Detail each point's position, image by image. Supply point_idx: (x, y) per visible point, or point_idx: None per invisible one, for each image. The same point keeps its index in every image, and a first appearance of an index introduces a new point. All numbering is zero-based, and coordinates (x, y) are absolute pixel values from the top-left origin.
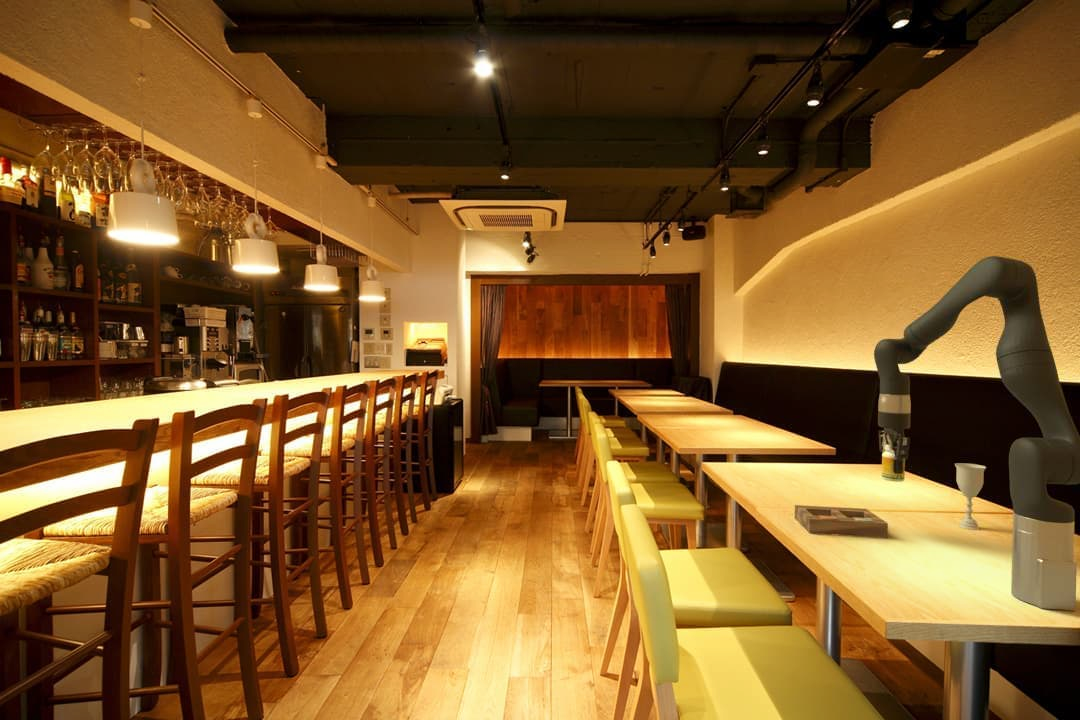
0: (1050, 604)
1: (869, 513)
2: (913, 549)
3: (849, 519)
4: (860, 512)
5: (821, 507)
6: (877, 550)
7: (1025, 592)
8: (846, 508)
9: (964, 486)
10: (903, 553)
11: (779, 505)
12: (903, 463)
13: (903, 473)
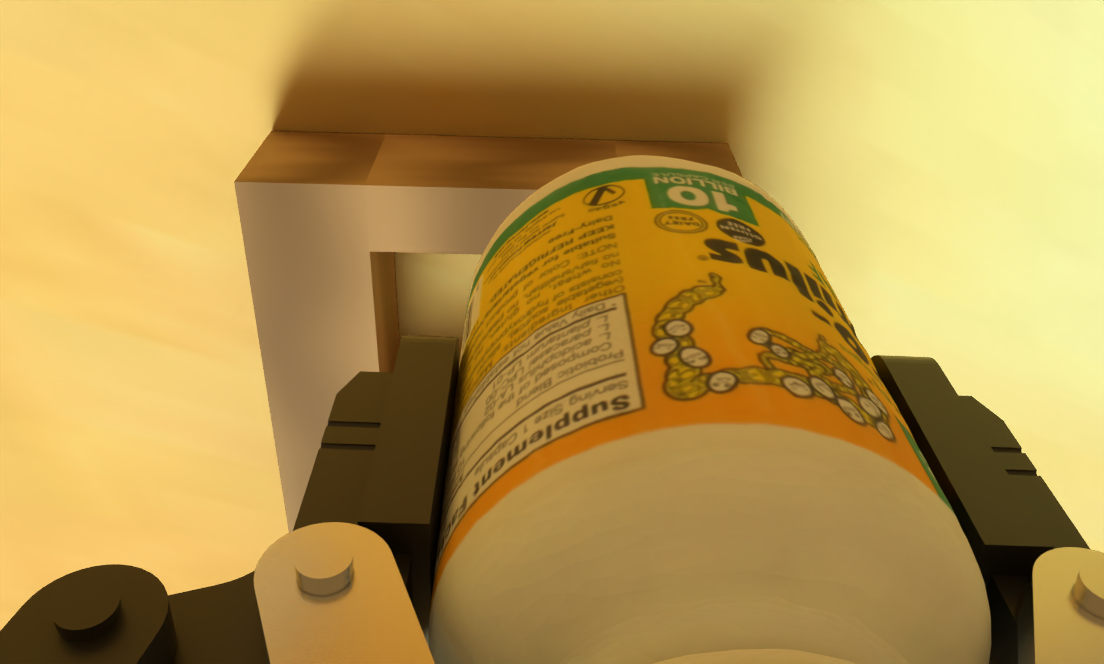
0: None
1: (423, 223)
2: (1014, 64)
3: None
4: (374, 275)
5: None
6: (1011, 341)
7: None
8: (291, 360)
9: None
10: (1092, 192)
11: (3, 601)
12: (904, 422)
13: (823, 280)
